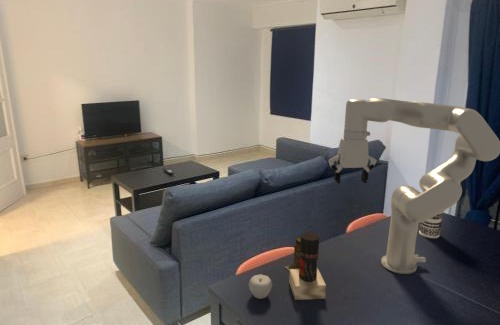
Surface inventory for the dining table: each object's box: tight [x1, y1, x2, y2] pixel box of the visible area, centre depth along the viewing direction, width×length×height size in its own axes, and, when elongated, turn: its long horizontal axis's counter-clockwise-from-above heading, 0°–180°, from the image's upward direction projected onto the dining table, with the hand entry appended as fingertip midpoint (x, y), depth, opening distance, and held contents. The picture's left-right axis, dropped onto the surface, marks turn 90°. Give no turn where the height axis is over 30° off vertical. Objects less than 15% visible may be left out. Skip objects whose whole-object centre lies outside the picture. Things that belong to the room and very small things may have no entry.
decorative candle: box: [418, 210, 445, 239], centre depth 159 cm, size 9×9×25 cm
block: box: [288, 267, 327, 301], centre depth 120 cm, size 10×10×5 cm
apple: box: [248, 273, 273, 300], centre depth 116 cm, size 8×8×7 cm
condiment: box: [284, 236, 301, 272], centre depth 131 cm, size 7×8×12 cm
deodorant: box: [299, 231, 320, 282], centre depth 117 cm, size 6×6×15 cm
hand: (350, 182), depth 127 cm, fingers open, 9 cm apart
